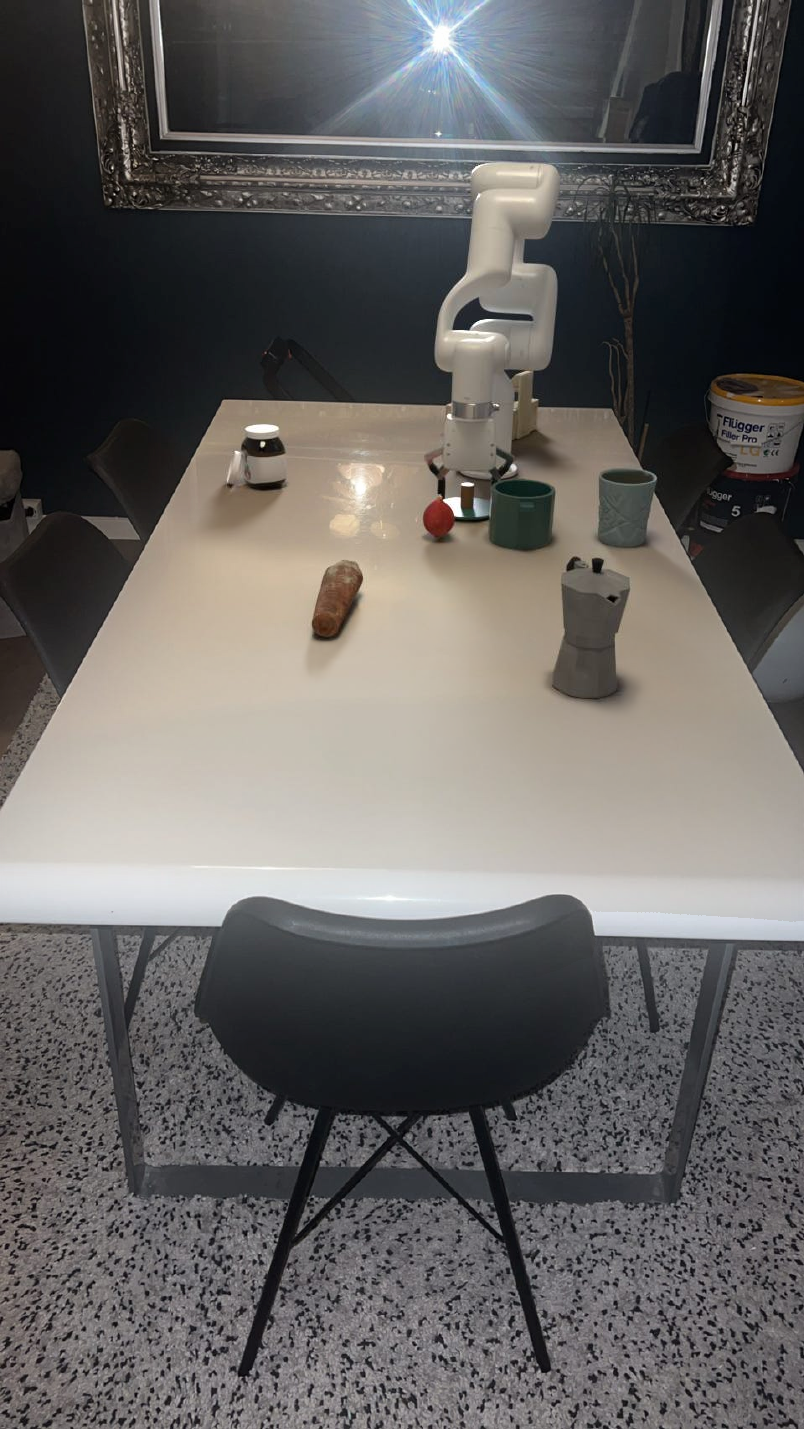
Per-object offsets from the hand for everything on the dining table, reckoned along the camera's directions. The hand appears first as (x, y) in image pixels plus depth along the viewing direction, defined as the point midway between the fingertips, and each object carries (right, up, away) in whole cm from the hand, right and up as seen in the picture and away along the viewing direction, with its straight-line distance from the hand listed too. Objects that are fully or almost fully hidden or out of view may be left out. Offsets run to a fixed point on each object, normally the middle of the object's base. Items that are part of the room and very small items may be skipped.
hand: (467, 498), depth 202 cm
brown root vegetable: (-23, -27, -43) cm, 55 cm away
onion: (-6, -10, -12) cm, 17 cm away
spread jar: (-44, +6, +15) cm, 47 cm away
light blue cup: (+27, -10, -11) cm, 31 cm away
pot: (+9, -10, -12) cm, 18 cm away
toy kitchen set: (+10, +28, +55) cm, 62 cm away
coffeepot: (+12, -38, -61) cm, 72 cm away
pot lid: (0, -2, +1) cm, 2 cm away
